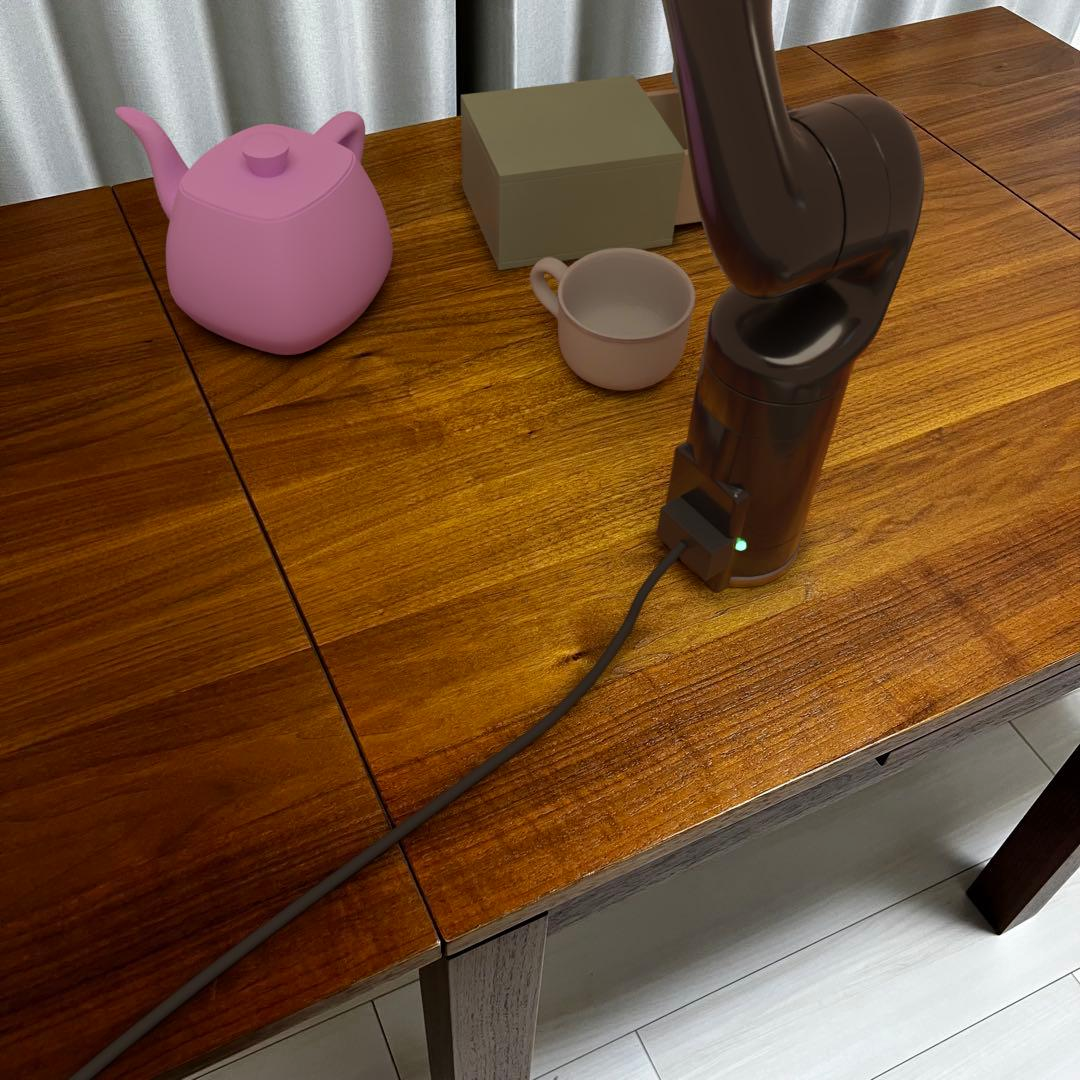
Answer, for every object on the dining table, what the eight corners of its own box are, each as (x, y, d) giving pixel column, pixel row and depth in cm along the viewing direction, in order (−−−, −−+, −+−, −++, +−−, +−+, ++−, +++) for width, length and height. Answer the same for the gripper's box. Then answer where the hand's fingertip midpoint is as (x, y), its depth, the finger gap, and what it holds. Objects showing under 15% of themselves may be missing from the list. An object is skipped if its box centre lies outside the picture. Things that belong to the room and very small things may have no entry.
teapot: (444, 255, 108) (440, 99, 97) (311, 391, 95) (288, 230, 84) (238, 183, 114) (211, 30, 103) (88, 302, 102) (38, 142, 90)
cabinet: (624, 166, 119) (633, 74, 111) (672, 245, 110) (685, 151, 103) (462, 187, 115) (460, 94, 108) (498, 270, 107) (499, 175, 99)
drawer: (771, 142, 121) (786, 69, 115) (824, 211, 113) (842, 136, 107) (585, 167, 117) (591, 92, 111) (626, 239, 109) (635, 163, 103)
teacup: (709, 366, 99) (723, 288, 93) (625, 430, 94) (634, 351, 88) (584, 292, 105) (590, 214, 99) (498, 348, 100) (499, 269, 94)
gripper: (663, -147, 98) (642, 53, 110) (730, -75, 89) (698, 134, 102) (748, -153, 99) (717, 45, 112) (822, -83, 90) (779, 124, 103)
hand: (708, 86), depth 107 cm, fingers closed on block, 5 cm apart
